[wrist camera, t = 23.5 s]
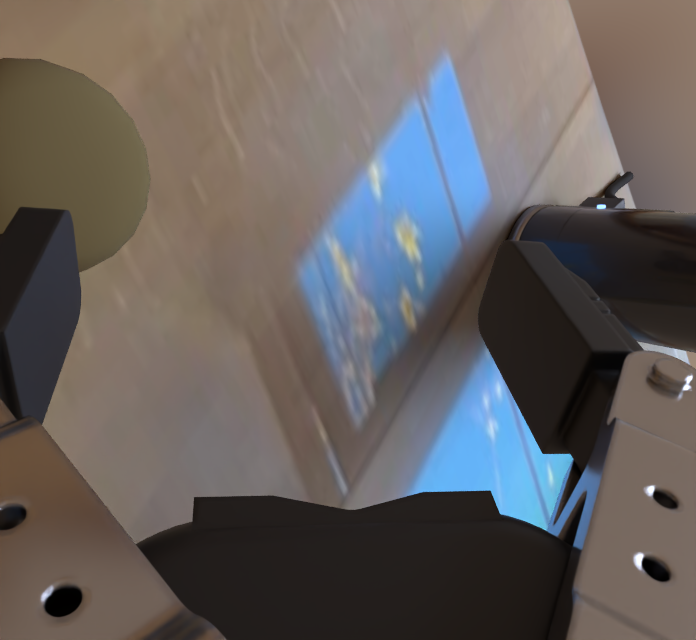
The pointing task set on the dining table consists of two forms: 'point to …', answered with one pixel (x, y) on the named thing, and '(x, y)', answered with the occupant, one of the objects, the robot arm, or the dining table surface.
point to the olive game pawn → (70, 155)
